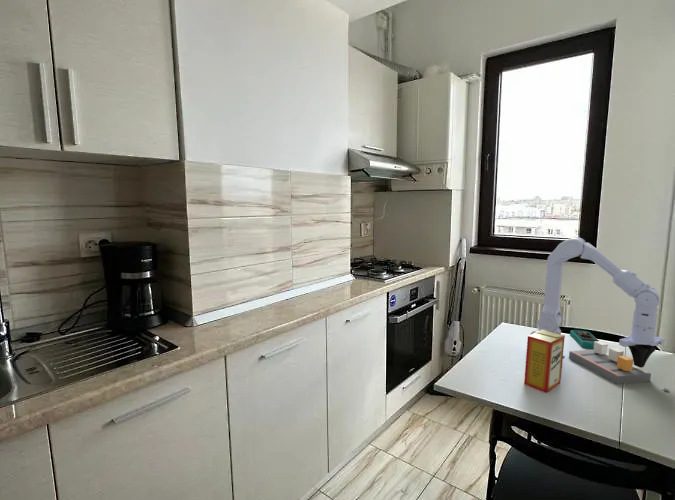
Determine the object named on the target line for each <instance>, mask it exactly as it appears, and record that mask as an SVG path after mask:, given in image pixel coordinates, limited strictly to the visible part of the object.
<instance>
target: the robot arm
mask: <svg viewBox="0 0 675 500" xmlns="http://www.w3.org/2000/svg"><path fill="white" fill-rule="evenodd" d="M580 255H581V256H580ZM578 256H580V259H582V260H589V261H591V262H594V264H596V265H597V266H598V267H600V268H601V269H602V270H603V271H604V272H606V273H607V274H609V275H610V276H612V283H613V284H614V285H616V286H617V288H619V289H620V290H622V291H623V292H624V293H625V294H626V295H627V296H629V297H630V298H631V297H632V298H634V303H635V306H634V307H635V308H634V310H633V314H632V321H631V329H630V330H631V332H630V336H627V337H624V338H620V339H619V341H618V342H619V343H618V345H619V346H622V347H624V348H627V347H628V349H629V350H630V353H631V357H632V359H633V365H634V366H636V367H638V368H640V369H642V368H644V367H645V365H646V363H647V361H648V360H649V357H650V356H651V355H653V353H654V352H656V347H655V346H657V345H664V344H665V338H664V337H660V336H655V334H656V328H657V320H658V308H659V307H658V306H659V305H660V303H661V301H660V294H659V292H658V291H657V290H656V289H655V287H651V285H650V284H649V283H645V282H644V281H642V280H641V279H640V278H639V277H638V276H637V275H638V273H636V272H635V271H630V270H628V269H621V268H620V267H619V266H617V265H616V264H615V262H613V261H612V260H611V259H610V258H608V257H607V256H606V255H605V254H603V252H601V251H600V250H599V249H598V248H596V247H595V246H593V244H591V242H586V240H585V239H584V238H581V237H580V236H574V237H571V238H568V239H566V240H564V241H562V242H560V243H559V244H558V245H557V246H556V248H554V250H552V252H551V253H550V254H549V255H548V257H547V261H546V262H547V264H546V275H545V285H544V286H545V287H544V288H545V289H544V297H543V298H544V302H543V306H542V309H541V314H540V316H539V318H538V320H537V325H538V328H537V330H533V331H531V332H530V334H529V335H531V334H533V333H535V332H538V331H540V330H542V329H543V330H546V331H550V332H554V333H557V334H561V335H562V330H561V328H560V327H559V326H561V324H562V323H563V316H562V314H561V306H560V304H561V295H562V294H561V292H562V283H563V282H562V281H563V269H564V263H566V262H567V261H568V260H570V259H574V258H576V257H578ZM565 357H566V355H565V354H563V358H565Z"/></svg>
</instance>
